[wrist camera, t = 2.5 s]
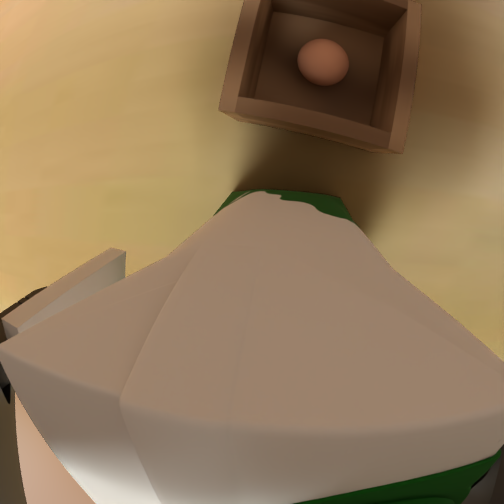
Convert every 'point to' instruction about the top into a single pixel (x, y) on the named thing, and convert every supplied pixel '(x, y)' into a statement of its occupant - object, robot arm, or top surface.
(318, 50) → the ball
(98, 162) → the top surface
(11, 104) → the top surface
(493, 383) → the soya milk
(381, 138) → the crate
